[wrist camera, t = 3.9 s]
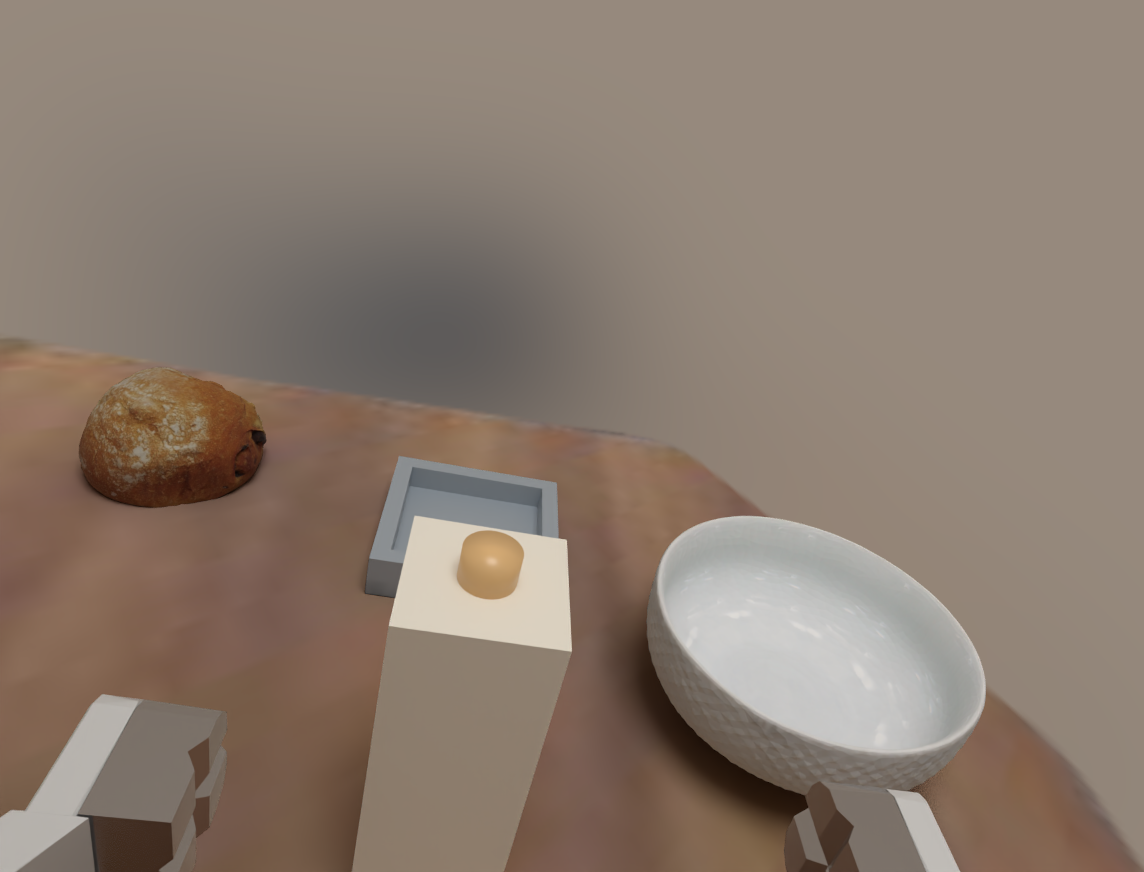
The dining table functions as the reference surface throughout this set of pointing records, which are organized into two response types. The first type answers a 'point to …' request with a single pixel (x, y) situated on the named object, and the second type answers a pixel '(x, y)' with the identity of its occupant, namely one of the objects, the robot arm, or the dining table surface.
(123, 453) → the bread roll
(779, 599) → the cereal bowl
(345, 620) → the dining table surface
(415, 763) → the juice box
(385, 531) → the tray
